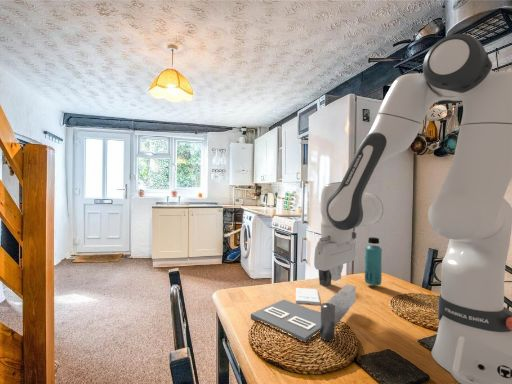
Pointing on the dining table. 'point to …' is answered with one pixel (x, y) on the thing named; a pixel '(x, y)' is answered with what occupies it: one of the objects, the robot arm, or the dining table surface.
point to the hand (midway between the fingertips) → (336, 279)
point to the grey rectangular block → (335, 311)
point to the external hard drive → (307, 296)
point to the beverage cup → (325, 277)
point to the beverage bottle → (373, 262)
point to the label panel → (291, 319)
